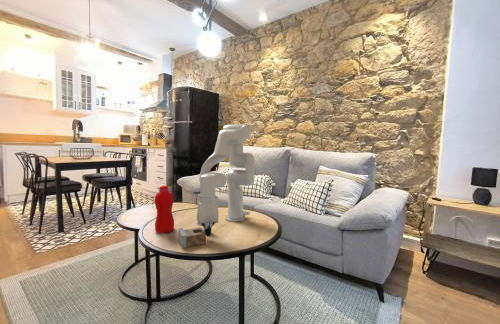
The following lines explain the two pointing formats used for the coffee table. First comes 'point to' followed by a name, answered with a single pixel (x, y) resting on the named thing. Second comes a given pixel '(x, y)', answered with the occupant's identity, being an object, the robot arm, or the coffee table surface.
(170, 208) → the water bottle
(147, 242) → the coffee table surface
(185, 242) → the wall
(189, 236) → the block
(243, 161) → the robot arm
